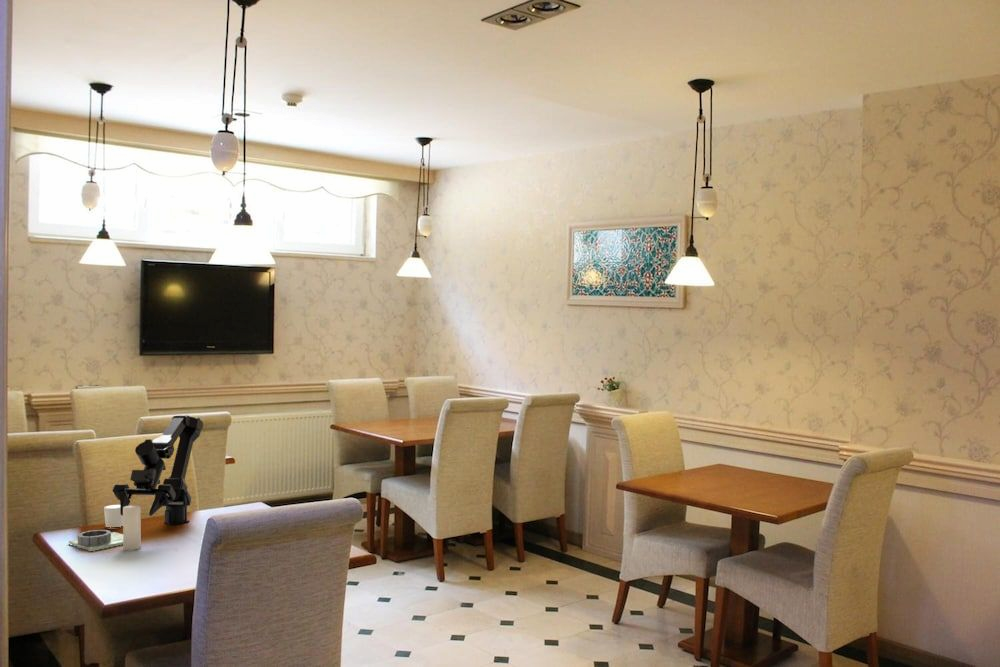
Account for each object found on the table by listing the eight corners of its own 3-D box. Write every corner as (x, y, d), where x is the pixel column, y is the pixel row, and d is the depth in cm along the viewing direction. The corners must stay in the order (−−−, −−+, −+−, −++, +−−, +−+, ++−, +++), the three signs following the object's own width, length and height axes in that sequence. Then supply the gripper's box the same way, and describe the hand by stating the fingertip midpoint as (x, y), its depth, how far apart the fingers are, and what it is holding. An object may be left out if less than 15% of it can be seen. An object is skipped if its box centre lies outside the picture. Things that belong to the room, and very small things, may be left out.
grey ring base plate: (114, 534, 282) (114, 524, 282) (136, 541, 274) (136, 530, 274) (68, 544, 271) (68, 533, 270) (90, 551, 262) (90, 540, 262)
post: (135, 545, 270) (135, 504, 270) (143, 547, 267) (143, 506, 266) (120, 548, 266) (119, 507, 266) (128, 551, 263) (128, 509, 263)
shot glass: (119, 528, 290) (119, 508, 290) (100, 528, 291) (99, 508, 290) (129, 524, 297) (129, 504, 297) (109, 523, 297) (109, 503, 297)
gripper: (115, 459, 274) (97, 500, 263) (171, 459, 273) (156, 501, 263) (126, 479, 282) (110, 519, 271) (182, 479, 281) (167, 520, 271)
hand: (135, 515), depth 269 cm, fingers open, 9 cm apart
